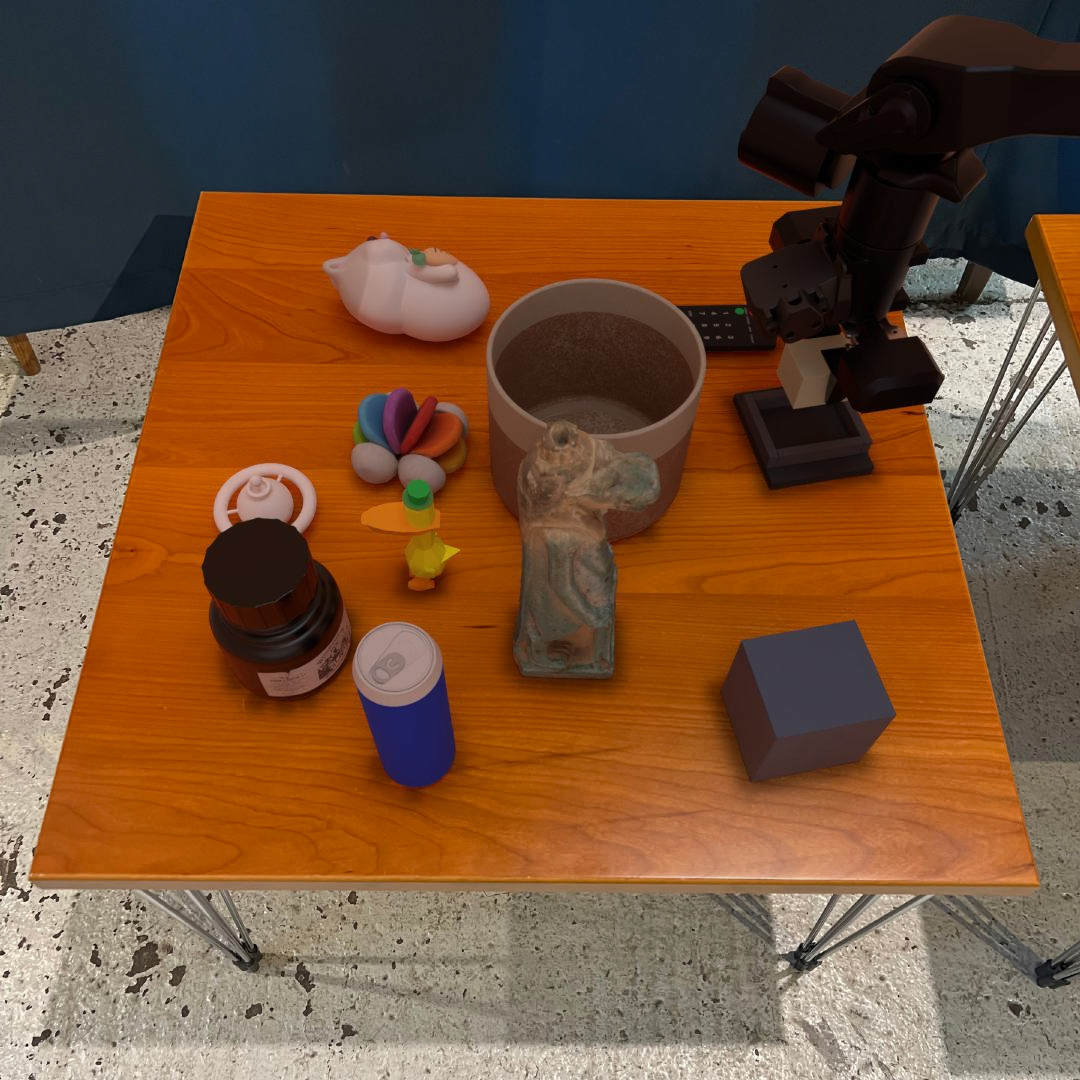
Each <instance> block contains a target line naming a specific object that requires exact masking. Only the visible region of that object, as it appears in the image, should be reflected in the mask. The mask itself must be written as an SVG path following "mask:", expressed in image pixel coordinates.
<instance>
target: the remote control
mask: <svg viewBox="0 0 1080 1080" xmlns="http://www.w3.org/2000/svg"><path fill="white" fill-rule="evenodd" d="M675 306H676V307H677V308H678V309H680V310H681V311H682V312H683V313H684V314H685V315H686V316H687V317H688V318H689V320H690V321H691V322H692V323H693V325H694V326H695V328H696V329H697V331H698V333H699V335H700V337H701V339H702V342H703V345H704V349H705V353H722V352H723V353H725V352H727V353H729V352H731V353H733V352H735V353H736V352H775V349H776V346H777V342H778V337H779V336H777V337H773V338H768V337H765V336H763V335H761V334H760V332H759V330H758V328H757V325H756V323H755V320H754V318H753V316H752V314H751V312H750V310H749V308H748V306H747V304H690V305H687V304H686V305H684V304H683V305H675Z"/></svg>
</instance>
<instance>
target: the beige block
mask: <svg viewBox="0 0 1080 1080" xmlns="http://www.w3.org/2000/svg"><path fill="white" fill-rule="evenodd" d="M850 340H851V339H847V338H846V337H845V336H844V334H843V333H841V334H840V335H833V336H826V337H819V338H812V339H805V340H804V339H802V340H800V341H797V342H795V343H792V344H787V343H784V348H783V350H782V354H781V357H780V360H779V363H778V367H777V370H776V375H777V377H778V379H779V381H780V384H781V387H782V386H783V388H784V390H785V392H786V395H787V397H788V399H789V401H790V403H791V405H792V408H793V409H797V408H804V407H810V406H817V405H823V404H826V403H825V394H826V388H827V384H828V380H829V375H830V370H829V368H828V366H827V364H826V362H825V360H824V358H823V356H822V354H821V350H825V349H832V348H839V347H845V344H847V343H850V344H851V342H850ZM843 401H848V399H847V398H845V399H844V400H842V401H841V402H843Z"/></svg>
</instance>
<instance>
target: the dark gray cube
mask: <svg viewBox="0 0 1080 1080" xmlns="http://www.w3.org/2000/svg"><path fill="white" fill-rule="evenodd" d="M720 694H721V697H722V700H723V703H724V706H725V709H726V712H727V715H728V719H729V721H730V724H731V727H732V730H733V733H734V736H735V739H736V741H737V745H738V748H739V751H740V754H741V756H742V760H743V764H744V766H745V768H746V772H747V775H748V778H749V781H750V783H756V782H763V781H766V780H772V779H776V778H781V777H787V776H792V775H797V774H801V773H807V772H811V771H817V770H821V769H826V768H832V767H836V766H837V767H838V766H841V765H842V766H843V765H847V764H852V763H858V762H860V761H861V760H862V759H863V757H864V756H866V754H867V753H868V752H869V750H870V749H871V748H872V747H873V746H874V744H875V742H876V741H877V740H878V739H879V738H880V737H881V736H882V734H884V732H885V731H886V729H887V728H888V727H889V726H890V724H891V723H892V722H893V721H894V719H895V718H896V717H897V712H896V710H895V708H894V704H893V703H892V701H891V699H890V697H889V696H890V695H889V694H888V692H887V689H886V687H885V685H884V683H883V680H882V677H881V676H880V674H879V671H878V668H877V666H876V664H875V662H874V659H873V656H872V655H871V653H870V651H869V648H868V645H867V643H866V640H865V639H864V636H863V634H862V632H861V630H860V627H859V625H858V623H857V620H856V619H851V620H846V621H840V622H839V621H838V622H834V623H828V624H823V625H818V626H811V627H805V628H800V629H796V630H789V631H784V632H779V633H773V634H767V635H761V636H757V637H752V638H745V639H742V640H740V643H739V645H738V648H737V650H736V653H735V655H734V657H733V659H732V662H731V665H730V666H729V670H728V672H727V675H726V677H725V680H724V682H723V684H722V687H721V688H720Z"/></svg>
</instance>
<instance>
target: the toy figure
mask: <svg viewBox="0 0 1080 1080" xmlns="http://www.w3.org/2000/svg"><path fill="white" fill-rule="evenodd" d="M434 499H435V498H434V493H432V491H431V490H430V487H429V485H428V483H427V482H425V481H423V480H420V479H417V480H414V481H410V483H409V484H408V486H407V488H405V489H404V490H403V492H402V495H401V501H396V502H385V503H383V504H379V505H375V506H372V507H371V508H369V509H366V510H365V511H363V512H362V513H361V517H360V524H362V525H364V526H366V527H368V528H369V529H370V530H372V531H373V532H376V533H380V534H385V535H391V536H392V535H393V536H405V537H406V536H407V537H408V536H409V537H411V539H410V540H409V542H408V543H407V546H406V547H405V549H404V556H405V561H406V564H407V566H408V569H409V571H408V576H409V577H410V578H412V579H411V580H408V581H407V587H408V590H413V591H416V592H419V591H420V592H421V591H426V590H430V589H434V588H435V587H436V583H435V580H433V579H436V578H437V577H438V576H440V575H441V574H442V573H443V571H444V569H445V567H446V565H447V564H448V561H450V560H451V559H452V558H453V557H454V556H456V554H458V553H459V552H460V551H461V549H459V548H457V547H454V546H452V545H451V546H450V545H448V544H445V543H444V541H442V538H441V537H438V532H436V530H439V529H441V524H442V523H441V522H442V513H441V511H440V510H439V509H437V508H435V503H434Z"/></svg>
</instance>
